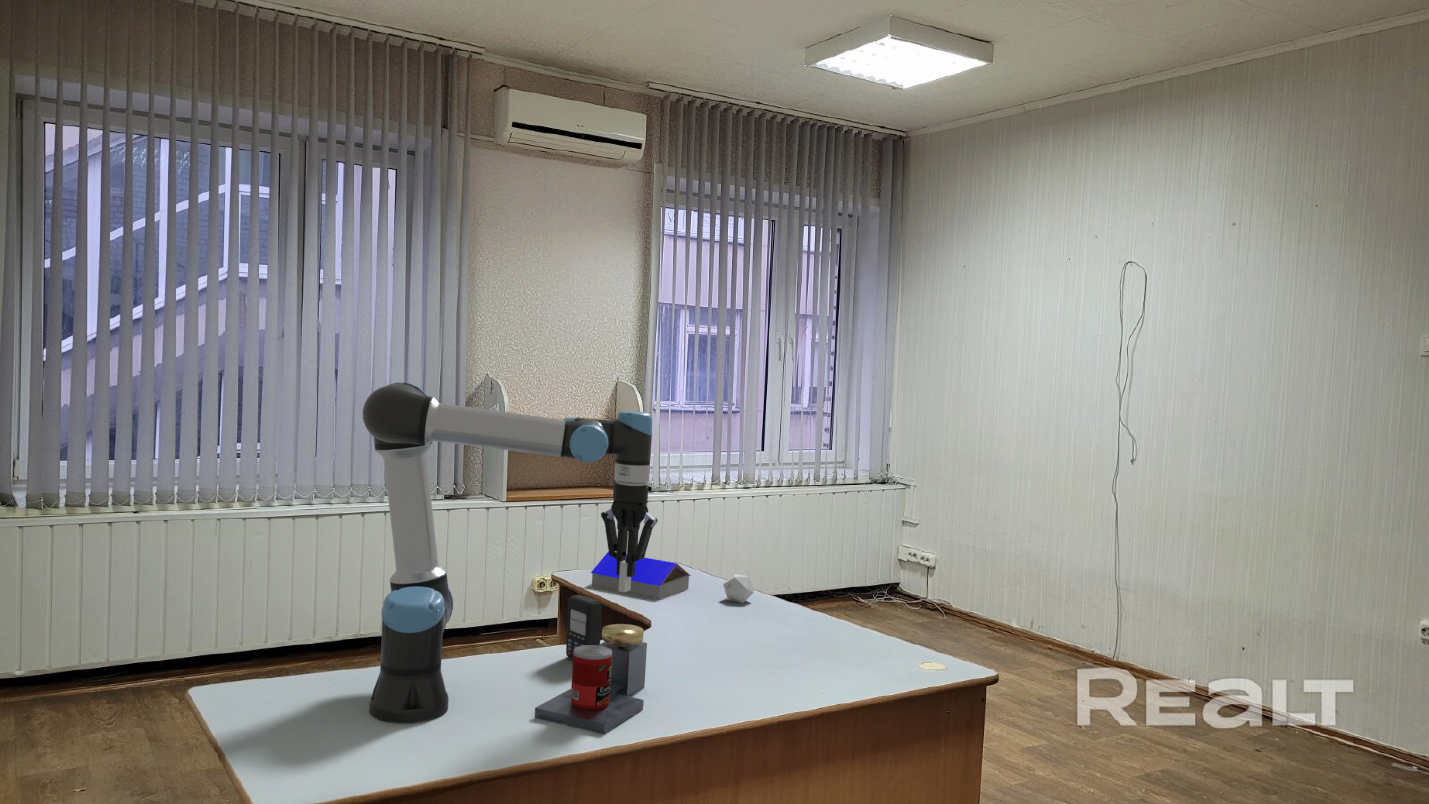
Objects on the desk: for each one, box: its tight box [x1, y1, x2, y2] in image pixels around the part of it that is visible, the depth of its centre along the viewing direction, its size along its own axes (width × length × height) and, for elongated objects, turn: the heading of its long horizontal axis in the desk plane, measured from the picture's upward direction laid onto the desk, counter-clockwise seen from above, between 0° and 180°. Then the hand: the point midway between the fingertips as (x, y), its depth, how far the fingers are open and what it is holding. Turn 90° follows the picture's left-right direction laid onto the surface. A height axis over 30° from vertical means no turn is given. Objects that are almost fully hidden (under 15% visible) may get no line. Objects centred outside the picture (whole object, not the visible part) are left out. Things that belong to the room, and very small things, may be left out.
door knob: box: [601, 623, 645, 647], centre depth 222 cm, size 9×9×10 cm
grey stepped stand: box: [534, 641, 648, 735], centre depth 213 cm, size 16×28×10 cm, turn 156°
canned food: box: [570, 645, 612, 710], centre depth 207 cm, size 8×8×11 cm
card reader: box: [565, 594, 603, 661], centre depth 240 cm, size 9×4×15 cm, turn 45°
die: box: [722, 573, 755, 604], centre depth 307 cm, size 8×9×10 cm
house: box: [590, 550, 692, 601], centre depth 316 cm, size 19×25×10 cm
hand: (624, 590), depth 222 cm, fingers closed
